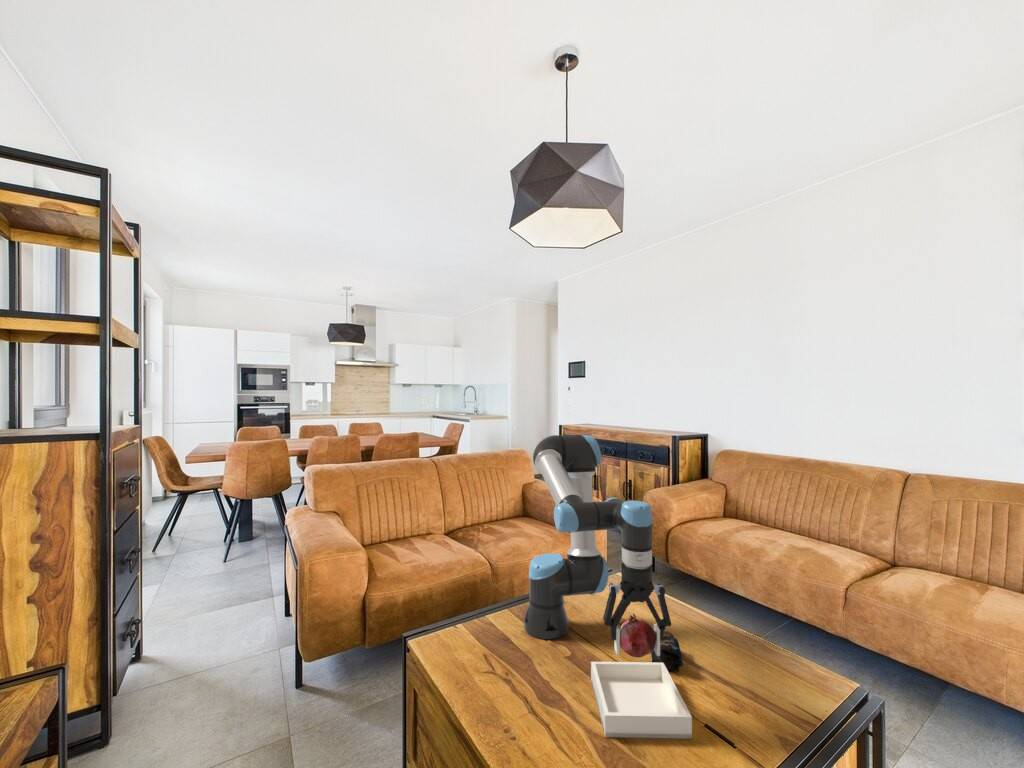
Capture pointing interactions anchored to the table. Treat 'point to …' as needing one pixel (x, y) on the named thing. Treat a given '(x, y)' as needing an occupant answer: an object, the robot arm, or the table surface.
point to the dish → (639, 701)
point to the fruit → (637, 637)
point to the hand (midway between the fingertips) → (636, 652)
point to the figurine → (669, 653)
